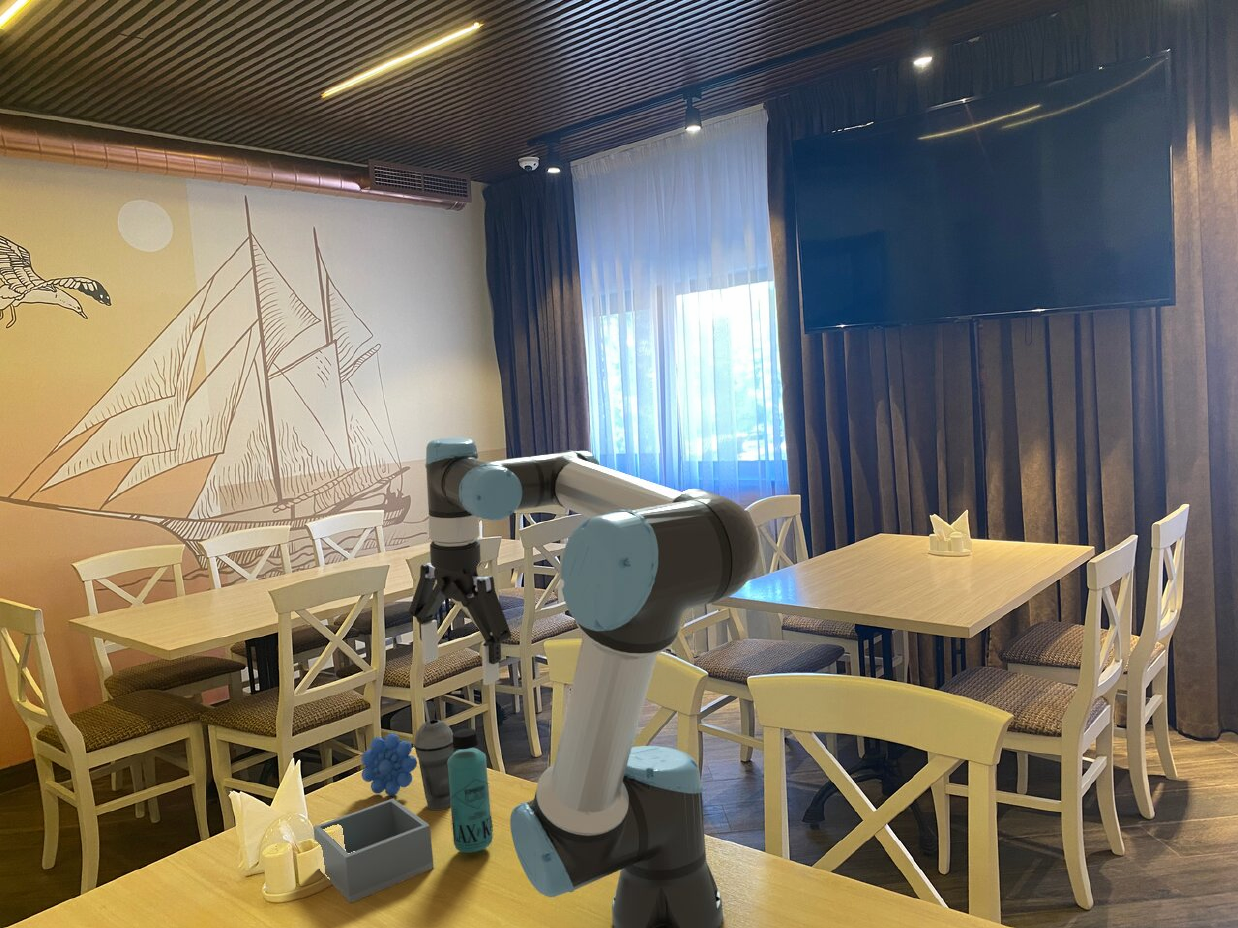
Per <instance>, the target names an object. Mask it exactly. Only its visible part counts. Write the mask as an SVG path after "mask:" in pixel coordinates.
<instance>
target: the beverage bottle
mask: <svg viewBox="0 0 1238 928" xmlns="http://www.w3.org/2000/svg"><path fill="white" fill-rule="evenodd" d="M452 733H453V732H452ZM479 743H480V742H479V738H478V732H477V730H476V729H474V728H462V729H458V730H456V731H455V732H454V733H453V742H452V744H453V748H454V750H455V751H453V754H452V755H451V756H450V758H449V759H448V761H447V765H448V774H449V787H450V799H449V800H450V802H451V806H450V807H449V809H450V816H451V818H450V823H451V828H452V839H453V845H454V848H455V849H456V850H457V851H458V852H462V853H474V852H480V851H482V850H484V849H487V848H488V847H489V846H490V845H491V844H492V842H493V833H494V829H493V828H494V826H493V818H492V813H493V812H491V804H492V803H491V799H490V797H491V795H490V787H489V785H490V783H489V781H488V780H489V779H488V769H487V755H486V754H485V753H484V752H483V751H481V750H480V749H478V748H476V747H477V746H478V745H479Z"/></svg>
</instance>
